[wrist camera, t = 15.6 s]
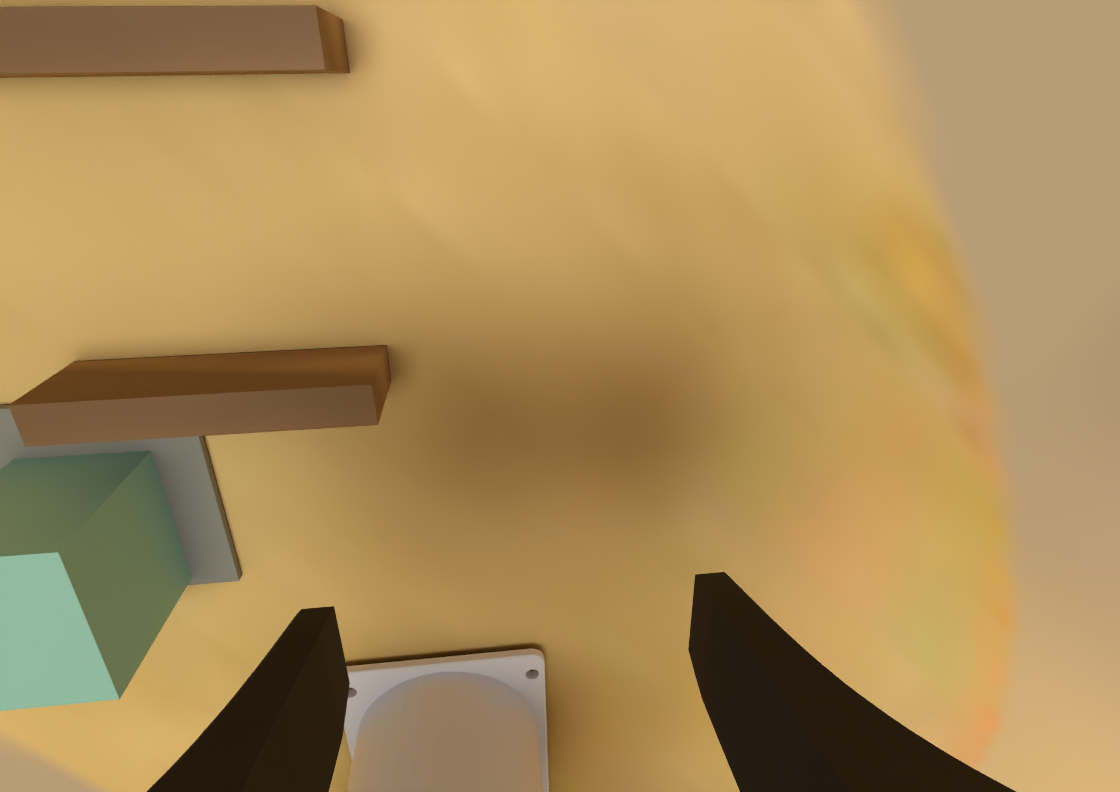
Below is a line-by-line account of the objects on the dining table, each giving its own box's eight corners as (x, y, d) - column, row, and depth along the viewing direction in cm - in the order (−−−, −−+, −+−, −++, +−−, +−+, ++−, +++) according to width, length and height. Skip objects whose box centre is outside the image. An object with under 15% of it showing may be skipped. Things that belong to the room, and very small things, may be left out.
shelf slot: (391, 381, 21) (377, 424, 18) (86, 398, 20) (25, 446, 17) (342, 19, 16) (315, 5, 14) (-46, 21, 16) (-155, 7, 13)
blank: (151, 450, 20) (58, 552, 16) (191, 577, 23) (119, 699, 18) (12, 459, 20) (-123, 566, 16) (67, 587, 22) (-38, 714, 18)
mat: (241, 574, 23) (239, 580, 23) (28, 592, 22) (22, 598, 22) (191, 394, 20) (187, 398, 20) (-56, 408, 19) (-64, 412, 19)
